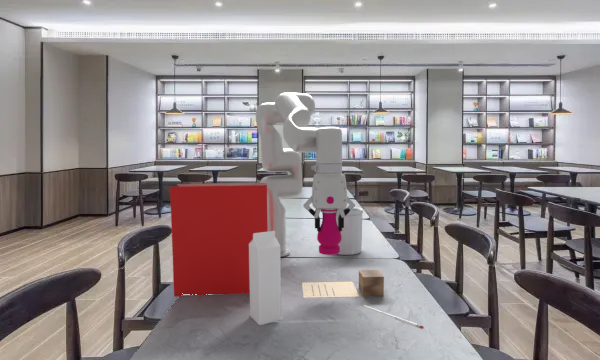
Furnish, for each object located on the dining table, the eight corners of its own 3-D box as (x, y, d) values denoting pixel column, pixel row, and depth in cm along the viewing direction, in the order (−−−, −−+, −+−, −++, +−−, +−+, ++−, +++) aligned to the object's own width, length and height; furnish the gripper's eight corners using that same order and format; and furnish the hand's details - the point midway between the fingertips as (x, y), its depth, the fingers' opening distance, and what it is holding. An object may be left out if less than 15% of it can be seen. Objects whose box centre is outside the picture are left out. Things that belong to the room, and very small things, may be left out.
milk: (281, 320, 93) (281, 233, 91) (258, 326, 90) (257, 236, 88) (271, 311, 99) (270, 228, 97) (249, 316, 96) (248, 231, 94)
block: (362, 297, 107) (362, 277, 107) (358, 289, 113) (358, 270, 113) (383, 297, 107) (383, 276, 107) (378, 289, 113) (378, 269, 113)
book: (174, 296, 109) (170, 186, 106) (180, 286, 117) (176, 184, 114) (268, 292, 111) (266, 185, 109) (268, 282, 119) (266, 182, 116)
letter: (303, 298, 107) (303, 297, 107) (301, 283, 119) (301, 282, 119) (359, 297, 107) (359, 296, 107) (352, 282, 119) (352, 281, 119)
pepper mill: (315, 249, 115) (315, 184, 113) (339, 248, 116) (339, 183, 114) (318, 255, 108) (318, 186, 106) (343, 255, 109) (343, 186, 107)
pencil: (422, 329, 89) (422, 327, 88) (358, 306, 102) (358, 303, 102) (423, 328, 89) (423, 325, 89) (359, 305, 102) (359, 303, 102)
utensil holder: (327, 245, 164) (327, 205, 163) (362, 246, 162) (362, 206, 161) (325, 255, 150) (325, 211, 148) (363, 256, 148) (363, 212, 146)
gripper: (300, 170, 106) (300, 233, 107) (360, 170, 106) (360, 233, 108) (299, 169, 113) (299, 228, 115) (356, 168, 114) (355, 227, 115)
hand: (329, 230), depth 111 cm, fingers closed on pepper mill, 5 cm apart
